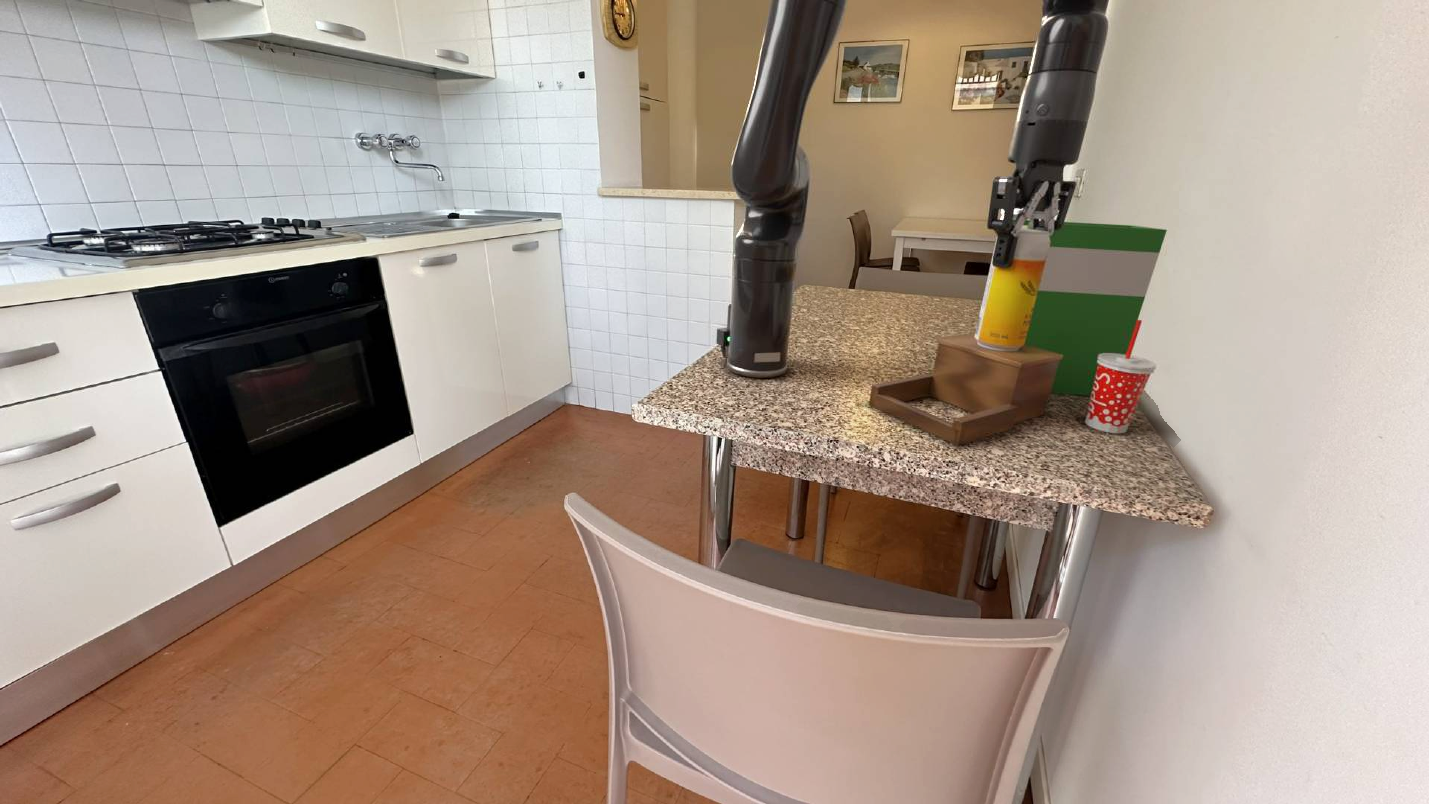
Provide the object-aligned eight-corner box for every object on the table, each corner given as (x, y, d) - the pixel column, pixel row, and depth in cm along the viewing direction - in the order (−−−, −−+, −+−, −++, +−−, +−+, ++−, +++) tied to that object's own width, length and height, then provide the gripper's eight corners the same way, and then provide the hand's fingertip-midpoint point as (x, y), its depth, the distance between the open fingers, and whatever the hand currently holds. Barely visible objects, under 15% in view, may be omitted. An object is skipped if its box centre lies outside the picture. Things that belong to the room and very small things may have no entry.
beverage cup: (1075, 413, 78) (1106, 312, 73) (1128, 422, 76) (1164, 319, 71) (1080, 429, 73) (1114, 321, 68) (1137, 439, 70) (1176, 329, 65)
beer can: (1028, 354, 73) (1060, 233, 68) (978, 349, 74) (1005, 230, 69) (1015, 342, 79) (1043, 229, 73) (969, 338, 80) (993, 226, 74)
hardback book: (991, 388, 86) (1031, 222, 77) (974, 373, 93) (1009, 219, 84) (1112, 396, 85) (1167, 229, 76) (1086, 380, 92) (1133, 225, 83)
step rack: (868, 405, 77) (877, 345, 74) (962, 384, 87) (974, 330, 84) (957, 446, 66) (972, 377, 63) (1052, 416, 77) (1069, 356, 73)
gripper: (1053, 126, 73) (1021, 260, 79) (984, 115, 66) (955, 263, 72) (1116, 124, 67) (1076, 268, 73) (1048, 111, 60) (1010, 273, 66)
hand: (1016, 265), depth 73 cm, fingers closed on beer can, 6 cm apart
